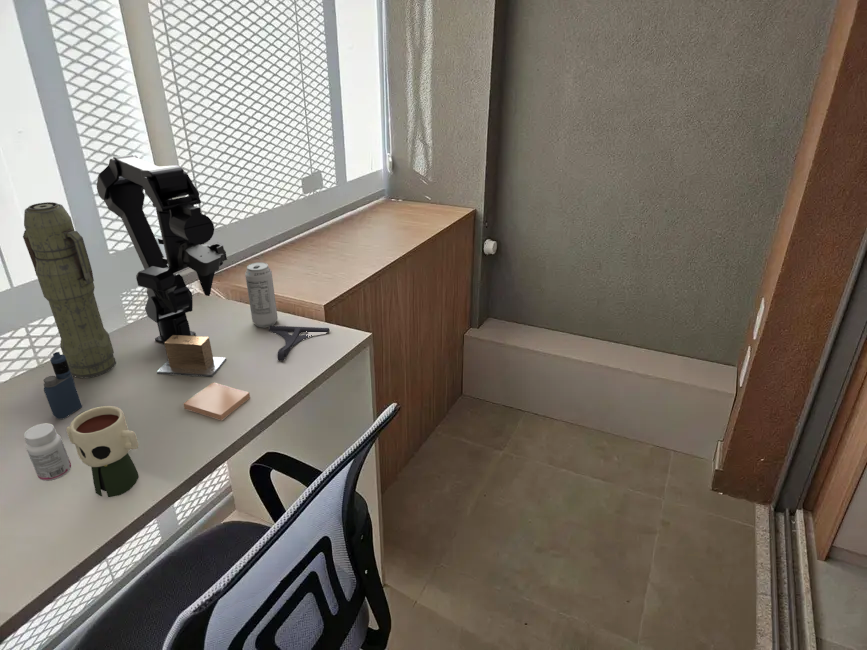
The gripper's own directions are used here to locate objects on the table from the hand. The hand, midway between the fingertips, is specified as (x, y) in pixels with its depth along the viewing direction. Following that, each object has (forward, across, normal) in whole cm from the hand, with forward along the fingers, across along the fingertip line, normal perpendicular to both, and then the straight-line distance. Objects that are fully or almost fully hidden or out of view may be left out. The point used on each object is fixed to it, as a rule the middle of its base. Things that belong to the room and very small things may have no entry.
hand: (191, 303), depth 119 cm
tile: (+13, -12, -11) cm, 21 cm away
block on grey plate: (+13, -4, -1) cm, 14 cm away
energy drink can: (+13, +19, -2) cm, 23 cm away
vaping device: (+13, -26, +8) cm, 30 cm away
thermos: (+13, -13, +18) cm, 26 cm away
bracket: (+14, +13, -14) cm, 24 cm away
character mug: (+13, -36, -17) cm, 42 cm away
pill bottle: (+13, -38, -5) cm, 41 cm away
